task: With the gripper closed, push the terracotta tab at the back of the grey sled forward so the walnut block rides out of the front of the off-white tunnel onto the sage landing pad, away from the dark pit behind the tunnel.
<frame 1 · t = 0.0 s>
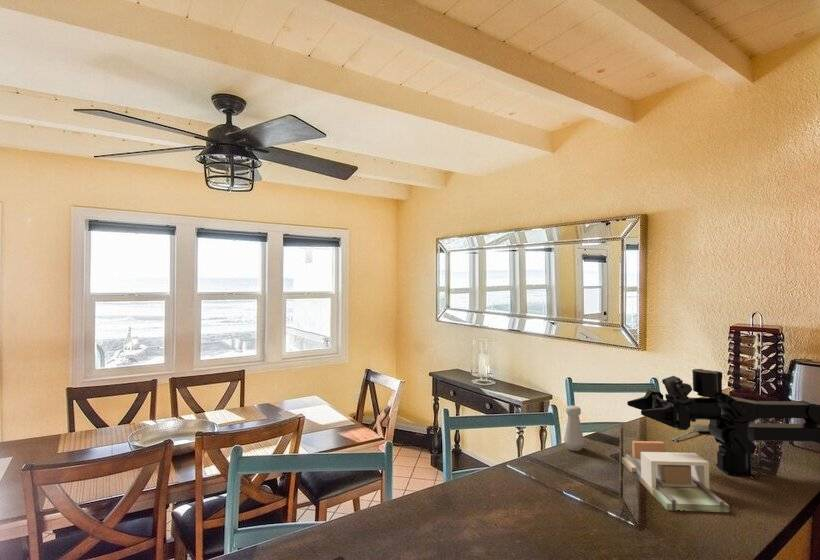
hand: (634, 407, 120), 17 cm above the kitchen counter, tool horizontal, fingers open, 9 cm apart
salt shaker: (574, 449, 135), on the kitchen counter
track deck: (674, 489, 107), on the kitchen counter
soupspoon: (692, 437, 145), on the kitchen counter
tunnel: (673, 470, 107), point 5 cm above the kitchen counter
sled: (661, 462, 113), point 4 cm above the kitchen counter, slide at 0.0 cm
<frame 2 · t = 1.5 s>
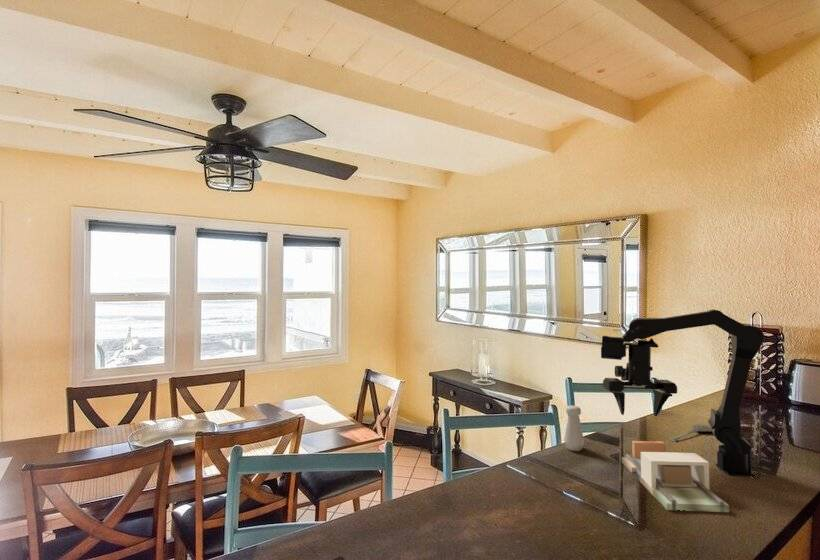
hand: (638, 415, 127), 12 cm above the kitchen counter, tool pointing down, fingers open, 9 cm apart
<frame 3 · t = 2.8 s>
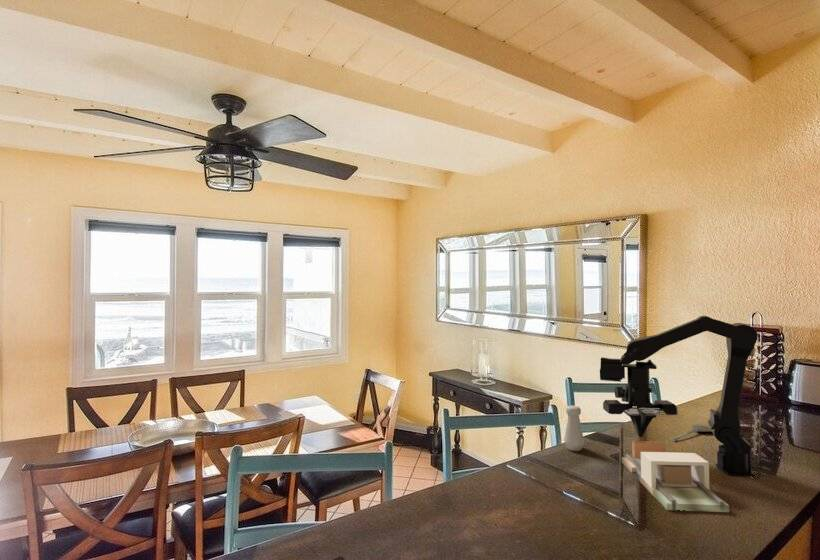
hand: (640, 436, 127), 6 cm above the kitchen counter, tool pointing down, fingers closed
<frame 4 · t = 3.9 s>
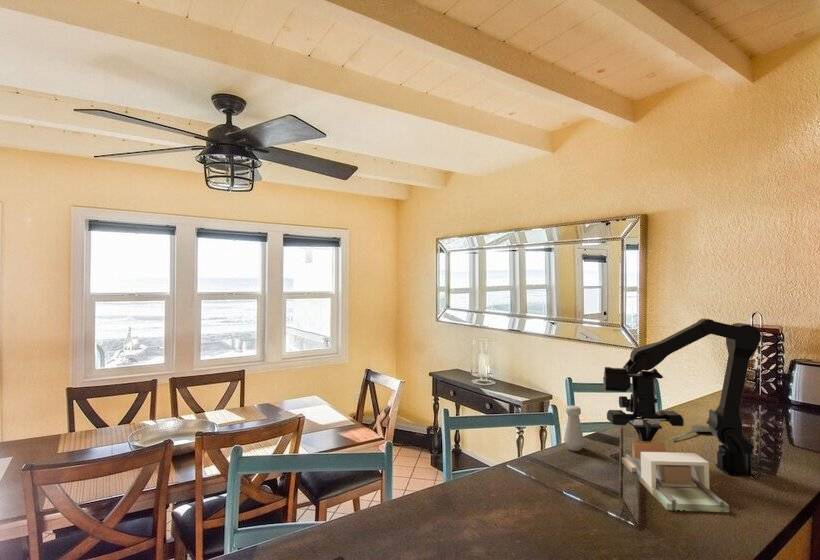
hand: (645, 448, 124), 4 cm above the kitchen counter, tool pointing down, fingers closed
sled: (661, 462, 113), point 4 cm above the kitchen counter, slide at 0.0 cm, touching gripper
everything else where it was.
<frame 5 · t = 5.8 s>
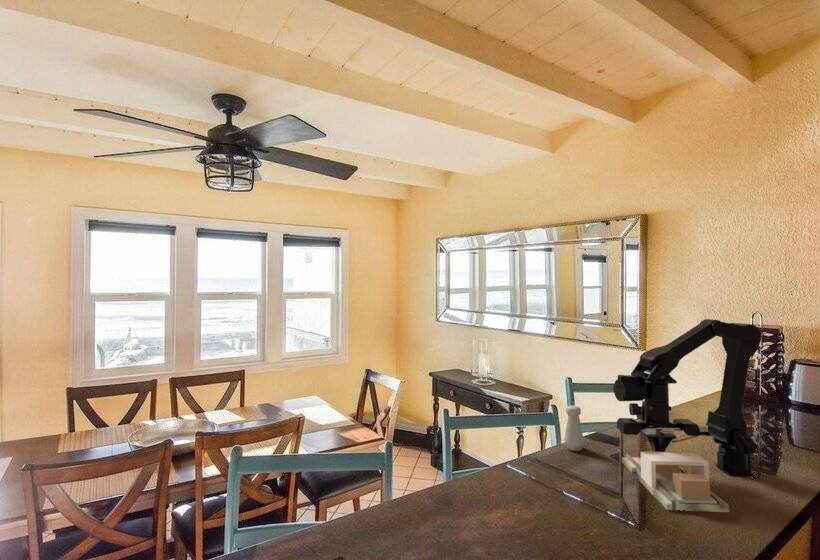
hand: (657, 459, 116), 4 cm above the kitchen counter, tool pointing down, fingers closed, pressing on sled
sled: (677, 475, 106), point 4 cm above the kitchen counter, slide at 7.8 cm, touching gripper
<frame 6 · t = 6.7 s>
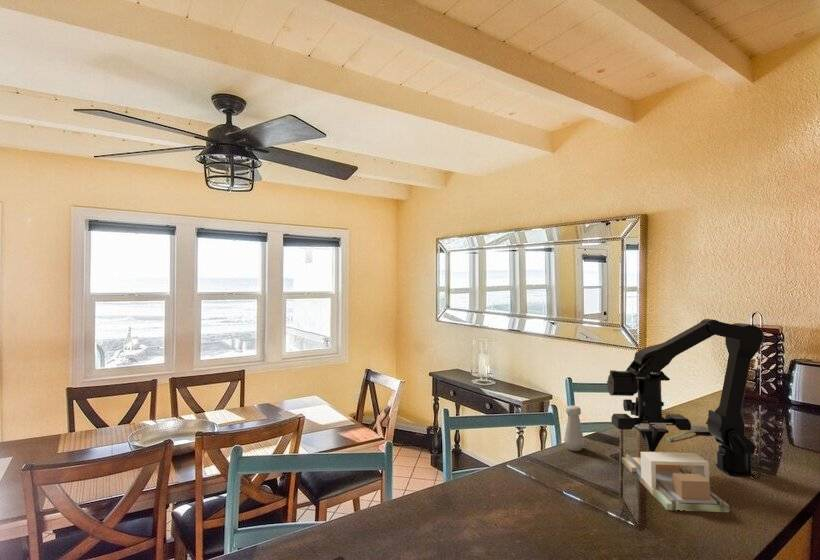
hand: (650, 453, 120), 4 cm above the kitchen counter, tool pointing down, fingers closed
sled: (677, 475, 106), point 4 cm above the kitchen counter, slide at 7.9 cm
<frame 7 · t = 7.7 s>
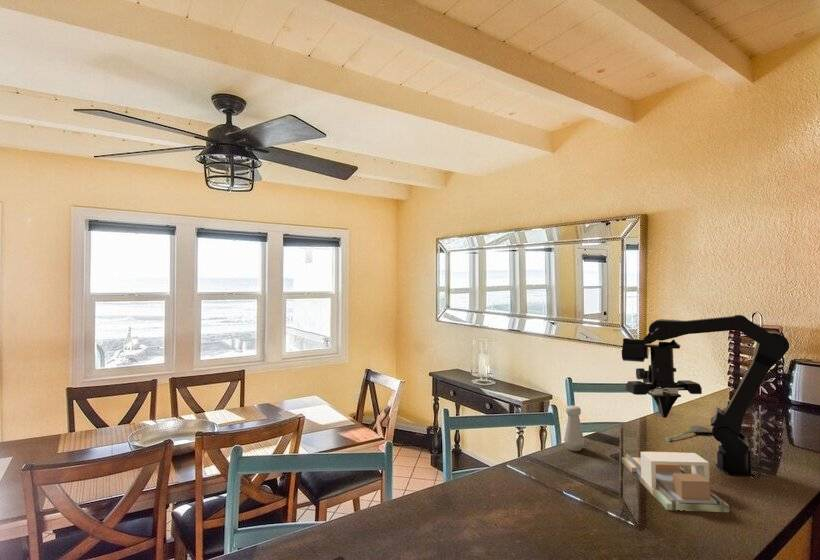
hand: (664, 417, 126), 12 cm above the kitchen counter, tool pointing down, fingers closed
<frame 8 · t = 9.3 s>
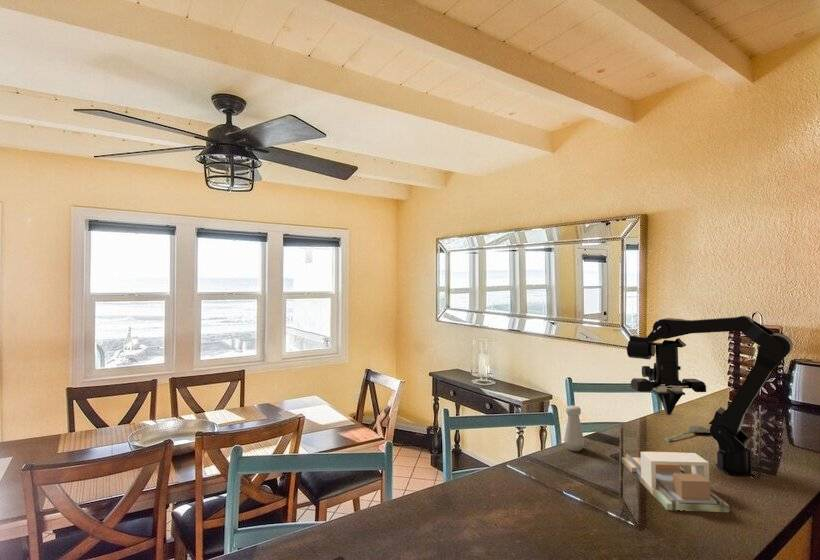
hand: (668, 414, 128), 12 cm above the kitchen counter, tool pointing down, fingers closed
at the end: sled slide at 7.9 cm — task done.
